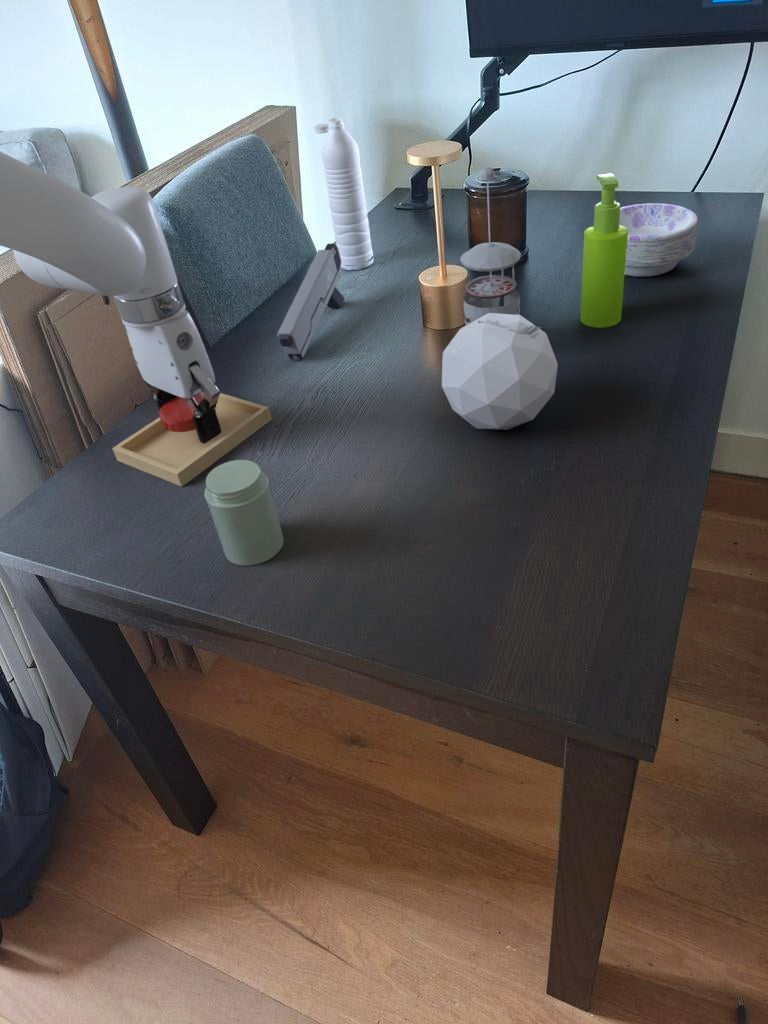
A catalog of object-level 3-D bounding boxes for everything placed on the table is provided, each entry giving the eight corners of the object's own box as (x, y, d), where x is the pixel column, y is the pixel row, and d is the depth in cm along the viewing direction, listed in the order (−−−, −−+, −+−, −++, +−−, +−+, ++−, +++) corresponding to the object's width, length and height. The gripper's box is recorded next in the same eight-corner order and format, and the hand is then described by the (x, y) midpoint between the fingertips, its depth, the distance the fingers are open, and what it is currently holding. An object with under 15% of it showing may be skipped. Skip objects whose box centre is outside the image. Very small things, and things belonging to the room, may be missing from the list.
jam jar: (255, 573, 79) (233, 503, 73) (211, 553, 82) (186, 484, 76) (296, 536, 83) (278, 466, 77) (252, 518, 86) (232, 450, 80)
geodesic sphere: (595, 351, 94) (523, 263, 89) (586, 413, 84) (505, 316, 79) (500, 410, 103) (431, 332, 99) (482, 472, 93) (404, 388, 88)
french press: (448, 361, 109) (435, 179, 93) (478, 325, 117) (471, 152, 101) (513, 369, 105) (511, 181, 89) (540, 332, 113) (542, 152, 97)
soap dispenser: (615, 305, 116) (625, 168, 104) (624, 325, 111) (636, 183, 98) (576, 309, 117) (581, 173, 104) (583, 329, 112) (590, 188, 99)
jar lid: (200, 398, 102) (196, 387, 101) (225, 415, 98) (222, 405, 97) (153, 419, 99) (149, 409, 98) (177, 438, 95) (173, 427, 94)
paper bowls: (594, 286, 123) (597, 237, 118) (596, 250, 134) (599, 204, 129) (695, 284, 119) (702, 233, 114) (688, 247, 130) (695, 200, 125)
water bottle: (351, 256, 146) (329, 113, 131) (380, 258, 143) (361, 113, 128) (326, 274, 141) (301, 127, 125) (356, 277, 138) (334, 127, 122)
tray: (181, 487, 93) (177, 473, 91) (117, 460, 99) (111, 448, 98) (272, 419, 102) (268, 407, 101) (207, 399, 109) (203, 387, 108)
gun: (351, 286, 131) (338, 235, 124) (308, 387, 117) (290, 336, 109) (338, 286, 132) (324, 235, 124) (293, 386, 118) (274, 336, 110)
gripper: (221, 303, 86) (257, 434, 97) (134, 278, 96) (175, 399, 107) (169, 330, 82) (212, 464, 93) (83, 301, 92) (132, 425, 103)
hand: (192, 428), depth 100 cm, fingers closed on jar lid, 6 cm apart
